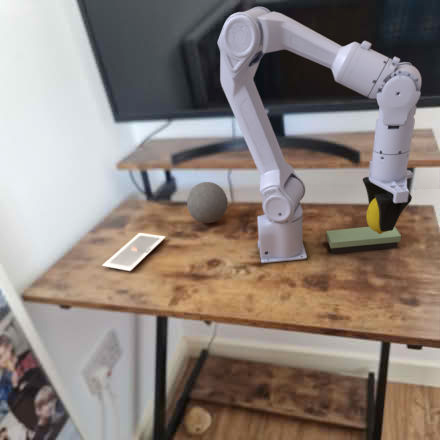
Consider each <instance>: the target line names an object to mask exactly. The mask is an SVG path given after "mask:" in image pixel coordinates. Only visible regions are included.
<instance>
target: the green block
mask: <svg viewBox="0 0 440 440" xmlns="http://www.w3.org/2000/svg"><path fill="white" fill-rule="evenodd" d="M325 237H326V239H327V245H328V247H329V249H330V252H331V254H332V255H333V254H343V253H354V252H365V251H366V252H367V251H375V250H376V251H377V250H386V249H397V247H398V243H400V242H401V240H402V235H401V233H400V232H399V230H398V229H397V228H396V226H395V227H394V229H393V230H392V231H387V232H383V233H382V234H378V233H377V232H375V231H373V230H372V229H371V228H370V227H369V226H362V227H353V228H352V227H351V228H342V229H332V230H331V229H330V230H326V231H325Z"/></svg>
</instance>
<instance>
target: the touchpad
mask: <svg viewBox="0 0 440 440" xmlns="http://www.w3.org/2000/svg"><path fill="white" fill-rule="evenodd" d="M166 237H167V236H165V235H158V234H151V233H143V232H138V233H137V234H136V235H135V236H134V237H132V238H131V239H130V240H129V241H128V242H127V243H125V244H124V245H123V246H122V247H121V248H120V249H119V250H118V251H116V252H115V253H114V254H113V255H112V256H111V257H109V259H107V260H106V261H105V262H104V263H103V264H102V265H101V266H102V267H107V268H112V269H118V270H121V271H127V272H131V271H132V270H133V269H134V268H135V267H136V266H137V265H139V263H140V262H141V261H142V260H143V259H145V258H146V256H147V255H149V254H150V253H151V252H152V251H153V250H154V249H155V248H157V246H158V245H159V244H160V243H161V242H162V241H163V240H164V239H165V238H166Z"/></svg>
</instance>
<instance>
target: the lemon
mask: <svg viewBox="0 0 440 440" xmlns="http://www.w3.org/2000/svg"><path fill="white" fill-rule="evenodd" d="M398 220H399V219H398ZM398 220H397V222H396V224H395V226H396V225H397V223H398ZM366 223H367V225H368V227H370V228H371V229H372V230H373V231H375V232H377V233H378V234H382V233H383V232H387V231H383V232H382V231H381V230H380V226H379V208H378V204H377V201H376V198H374V199H373V200H372V201H371V203H370V205H369V204H368V207H367V210H366Z"/></svg>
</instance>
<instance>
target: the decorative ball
mask: <svg viewBox="0 0 440 440" xmlns="http://www.w3.org/2000/svg"><path fill="white" fill-rule="evenodd" d="M186 200H187V201H186V204H187V210H188V212H189V215H190V216H191V217H192V218H193V219H194V220H196V221H197V222H199V223H202V224H213V223H215V222H218V221H219V220H221V218H223V217H224V215H225V214H226V211H227V209H228V197H227V194H226V192H225V190H224V188H222V187H221V186H220V185H218V184H217V183H215V182H211V181H204V182H200V183H197V184H196V185H194V186H193V187H192V188H191V190H190V191H189V193H188V195H187V199H186Z"/></svg>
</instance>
